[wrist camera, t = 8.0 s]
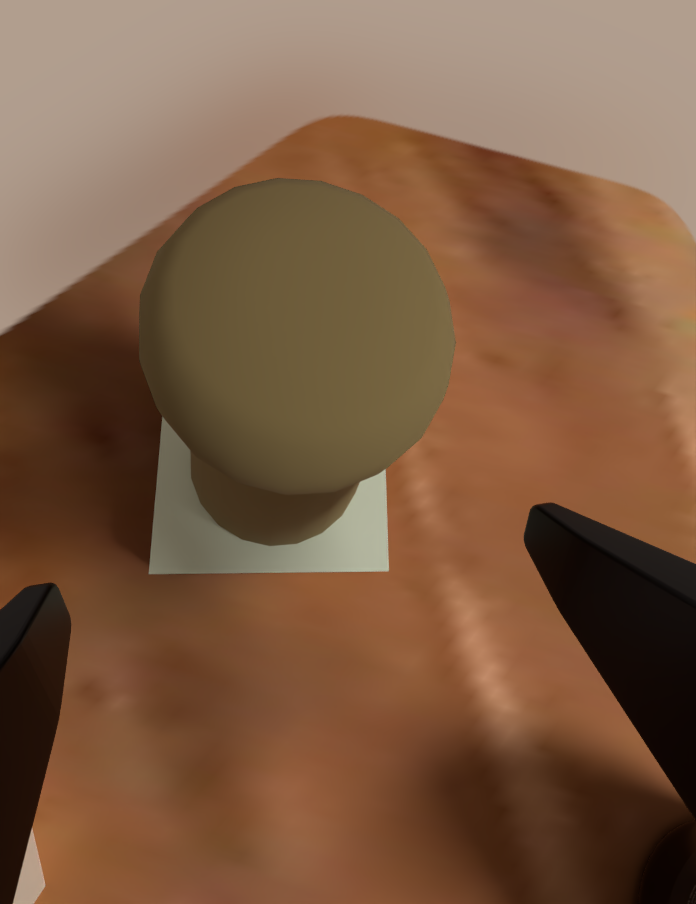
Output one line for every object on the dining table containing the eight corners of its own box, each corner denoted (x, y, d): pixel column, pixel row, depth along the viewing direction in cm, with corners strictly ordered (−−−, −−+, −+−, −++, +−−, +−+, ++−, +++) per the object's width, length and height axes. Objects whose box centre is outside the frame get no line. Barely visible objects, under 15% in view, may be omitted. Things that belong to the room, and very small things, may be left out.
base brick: (372, 571, 19) (388, 571, 17) (163, 573, 18) (148, 574, 15) (368, 385, 21) (382, 361, 19) (179, 374, 20) (168, 347, 17)
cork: (151, 466, 16) (-41, 278, 6) (271, 349, 18) (292, 42, 8) (285, 583, 16) (341, 610, 6) (393, 454, 18) (586, 291, 7)
